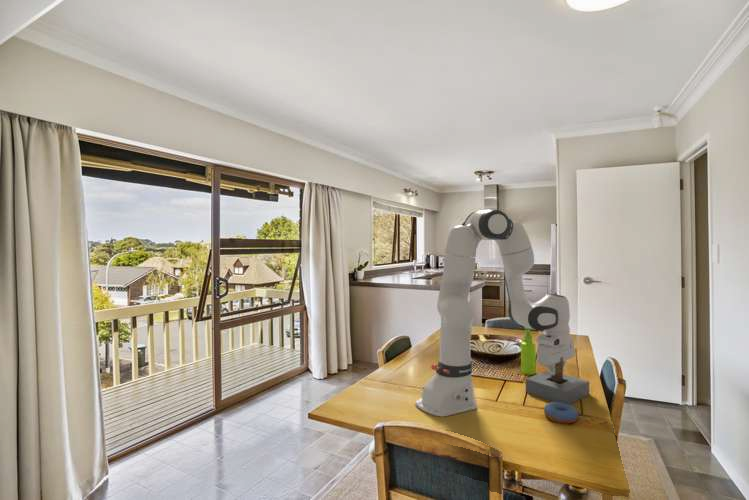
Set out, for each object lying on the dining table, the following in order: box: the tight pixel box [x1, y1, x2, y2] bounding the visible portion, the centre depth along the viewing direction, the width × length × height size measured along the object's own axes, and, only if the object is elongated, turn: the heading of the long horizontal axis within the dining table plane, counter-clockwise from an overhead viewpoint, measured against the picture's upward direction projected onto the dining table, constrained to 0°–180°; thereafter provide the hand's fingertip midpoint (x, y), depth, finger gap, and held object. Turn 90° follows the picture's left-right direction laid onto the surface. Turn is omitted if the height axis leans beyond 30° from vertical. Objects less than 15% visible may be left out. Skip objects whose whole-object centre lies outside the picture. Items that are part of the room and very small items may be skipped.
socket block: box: [525, 369, 590, 405], centre depth 145 cm, size 16×16×5 cm
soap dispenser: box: [520, 326, 537, 376], centre depth 167 cm, size 6×7×20 cm
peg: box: [551, 357, 564, 384], centre depth 145 cm, size 4×4×12 cm
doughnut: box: [543, 401, 579, 425], centre depth 125 cm, size 10×10×5 cm
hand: (556, 373), depth 145 cm, fingers closed on peg, 4 cm apart
